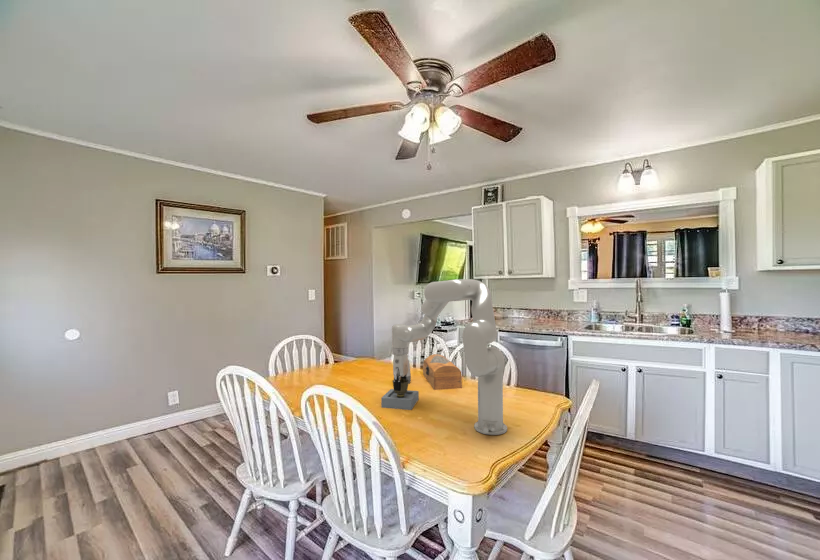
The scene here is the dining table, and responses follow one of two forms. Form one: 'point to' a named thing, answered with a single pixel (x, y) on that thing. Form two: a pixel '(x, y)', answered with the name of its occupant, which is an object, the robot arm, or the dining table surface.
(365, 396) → the dining table surface
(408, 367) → the smart speaker
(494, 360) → the robot arm
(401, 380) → the cup
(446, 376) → the wooden box
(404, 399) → the grey square tray
